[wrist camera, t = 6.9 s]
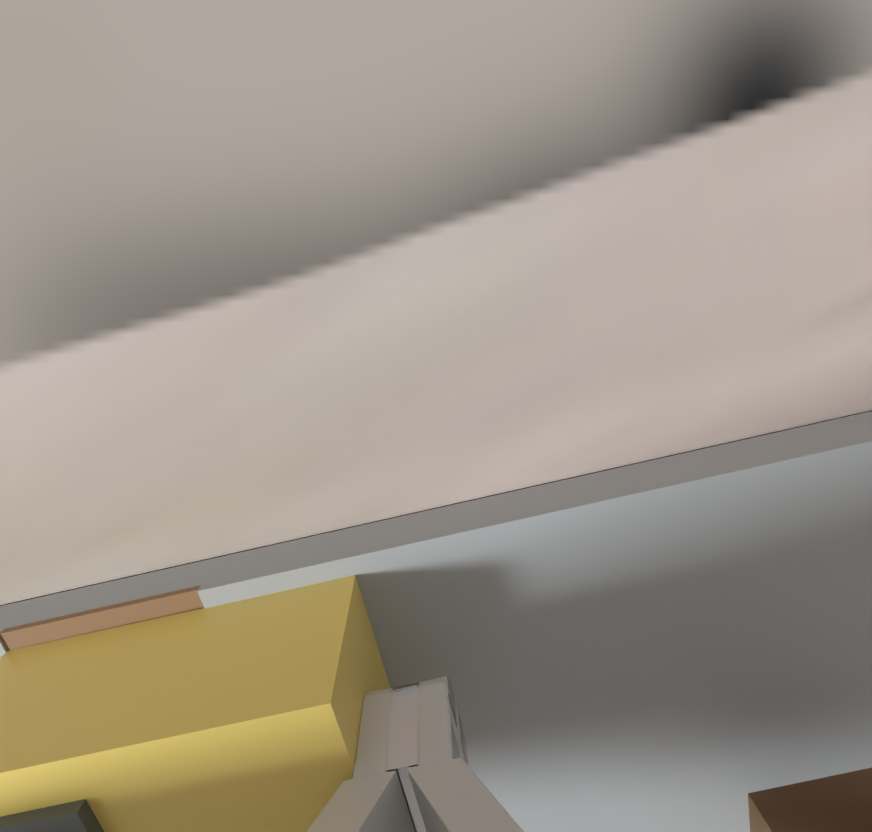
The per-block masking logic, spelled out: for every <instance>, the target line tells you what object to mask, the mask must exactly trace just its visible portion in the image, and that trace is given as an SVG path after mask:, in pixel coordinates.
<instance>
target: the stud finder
mask: <svg viewBox="0 0 872 832" xmlns="http://www.w3.org/2000/svg"><path fill="white" fill-rule="evenodd" d="M388 688H390V685H389V682H388V678H387V675H386V672H385V669H384V666H383V662H382V659H381V656H380V653H379V649H378V646H377V643H376V640H375V637H374V633H373V630H372V627H371V624H370V621H369V617H368V614H367V611H366V608H365V605H364V601H363V598H362V595H361V592H360V589H359V585H358V582H357V579H356V576H355V575H353V576H349V577H344V578H340V579H335V580H330V581H326V582H321V583H317V584H312V585H308V586H303V587H299V588H294V589H290V590H285V591H281V592H276V593H272V594H267V595H263V596H258V597H254V598H249V599H245V600H240V601H235V602H231V603H226V604H222V605H217V606H213V607H208V608H202V609H197V610H193V611H188V612H184V613H179V614H174V615H170V616H165V617H161V618H156V619H152V620H147V621H142V622H138V623H133V624H129V625H124V626H119V627H115V628H110V629H106V630H101V631H96V632H92V633H87V634H83V635H78V636H74V637H69V638H64V639H60V640H55V641H51V642H46V643H41V644H37V645H32V646H28V647H23V648H18V649H14V650H9V651H7V652H6V653H5V654H4V655H2V656H1V657H0V832H307V831H308V829H309V828H310V827H311V825H312V824H313V822H314V821H315V820H316V818H317V817H318V815H319V814H320V813H321V811H322V810H323V809H324V807H325V806H326V804H327V803H328V802H329V800H330V799H331V798H332V796H333V795H334V793H335V792H336V791H337V789H338V788H339V786H340V785H341V784H342V782H343V781H346V780H350V779H352V774H353V769H354V765H355V757H356V749H357V742H358V734H359V726H360V719H361V710H362V703H363V697H364V696H365V694H366V692H370V691H376V690H382V689H388Z"/></svg>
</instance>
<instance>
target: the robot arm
mask: <svg viewBox="0 0 872 832" xmlns="http://www.w3.org/2000/svg"><path fill="white" fill-rule="evenodd" d="M307 832H524V831H523V830H522V829H521V828H520V827H519V825H518V824H517V823H516V822H515V821H514V819H513V818H512V817H511V816H510V815H509V814H508V812H507V811H506V810H505V809H504V808H503V806H502V805H501V804H500V803H499V802H498V801H497V799H496V798H495V797H494V796H493V795H492V793H491V792H490V791H489V790H488V789H487V787H486V786H485V785H484V784H483V783H482V782H481V780H480V779H479V778H478V777H477V776H476V774H475V773H474V772H473V771H472V770H471V769H470V767H469V762H468V755H467V748H466V742H465V736H464V732H463V727H462V723H461V719H460V714H458V711H457V707H456V703H455V696H454V692H453V688H452V684H451V681H450V679H449V677H446V676H444V677H439V678H435V679H430V680H426V681H421V682H418V683H412V684H406V685H401V686H395V687H394V688H388V689H382V690H376V691H370V692H366V694H365V696H364V697H363V703H362V710H361V719H360V726H359V734H358V742H357V749H356V757H355V765H354V769H353V774H352V779H350V780H346V781H343V782H342V784H341V785H340V786H339V788H338V789H337V791H336V792H335V793H334V795H333V796H332V798H331V799H330V800H329V802H328V803H327V804H326V806H325V807H324V809H323V810H322V811H321V813H320V814H319V815H318V817H317V818H316V820H315V821H314V822H313V824H312V825H311V827H310V828H309V829H308V831H307Z"/></svg>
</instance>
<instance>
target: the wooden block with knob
mask: <svg viewBox="0 0 872 832" xmlns="http://www.w3.org/2000/svg"><path fill="white" fill-rule="evenodd" d="M748 805H749V821H750V832H872V768H867V769H862V770H857V771H852V772H848V773H843V774H838V775H833V776H829V777H824V778H819V779H814V780H809V781H805V782H800V783H795V784H790V785H786V786H781V787H776V788H771V789H766V790H762V791H757V792H752V793H748Z"/></svg>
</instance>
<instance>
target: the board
mask: <svg viewBox="0 0 872 832" xmlns="http://www.w3.org/2000/svg"><path fill="white" fill-rule="evenodd" d="M353 575H355V576H356V579H357V582H358V585H359V589H360V592H361V595H362V598H363V601H364V605H365V608H366V611H367V614H368V617H369V621H370V624H371V627H372V630H373V633H374V637H375V640H376V643H377V646H378V649H379V653H380V656H381V659H382V662H383V666H384V669H385V672H386V675H387V678H388V682H389V685H390V688H394V687H395V686H401V685H406V684H412V683H418V682H421V681H426V680H430V679H435V678H439V677H444V676H446V677H449V679H450V681H451V684H452V688H453V692H454V696H455V703H456V707H457V711H458V714H460V719H461V723H462V727H463V732H464V736H465V742H466V748H467V755H468V762H469V767H470V769H471V770H472V771H473V772H474V773H475V774H476V776H477V777H478V778H479V779H480V780H481V782H482V783H483V784H484V785H485V786H486V787H487V789H488V790H489V791H490V792H491V793H492V795H493V796H494V797H495V798H496V799H497V801H498V802H499V803H500V804H501V805H502V806H503V808H504V809H505V810H506V811H507V812H508V814H509V815H510V816H511V817H512V818H513V819H514V821H515V822H516V823H517V824H518V825H519V827H520V828H521V829H522V830H523V831H524V832H750V821H749V805H748V793H752V792H757V791H762V790H766V789H771V788H776V787H781V786H786V785H790V784H795V783H800V782H805V781H809V780H814V779H819V778H824V777H829V776H833V775H838V774H843V773H848V772H852V771H857V770H862V769H867V768H872V411H870V412H865V413H861V414H856V415H852V416H847V417H843V418H838V419H834V420H829V421H825V422H821V423H816V424H812V425H807V426H803V427H798V428H794V429H789V430H785V431H780V432H776V433H771V434H767V435H762V436H758V437H754V438H749V439H745V440H740V441H736V442H731V443H727V444H722V445H718V446H713V447H709V448H704V449H700V450H695V451H691V452H686V453H682V454H678V455H673V456H669V457H664V458H660V459H655V460H651V461H646V462H642V463H637V464H633V465H628V466H624V467H619V468H615V469H611V470H606V471H602V472H597V473H593V474H588V475H584V476H579V477H575V478H570V479H566V480H561V481H557V482H552V483H548V484H543V485H539V486H535V487H530V488H526V489H521V490H517V491H512V492H508V493H503V494H499V495H494V496H490V497H485V498H481V499H476V500H472V501H467V502H463V503H459V504H454V505H450V506H445V507H441V508H436V509H432V510H427V511H423V512H418V513H414V514H409V515H405V516H400V517H396V518H392V519H387V520H383V521H378V522H374V523H369V524H365V525H360V526H356V527H351V528H347V529H342V530H338V531H333V532H329V533H324V534H320V535H316V536H311V537H307V538H302V539H298V540H293V541H289V542H284V543H280V544H275V545H271V546H266V547H262V548H257V549H253V550H249V551H244V552H240V553H235V554H231V555H226V556H222V557H217V558H213V559H208V560H204V561H199V562H195V563H190V564H186V565H181V566H177V567H173V568H168V569H164V570H159V571H155V572H150V573H146V574H141V575H137V576H132V577H128V578H123V579H119V580H114V581H110V582H106V583H101V584H97V585H92V586H88V587H83V588H79V589H74V590H70V591H65V592H61V593H56V594H52V595H47V596H43V597H38V598H34V599H30V600H25V601H21V602H16V603H12V604H7V605H3V606H0V657H1V656H2V655H4V654H5V653H6V652H7V651H9V650H14V649H18V648H23V647H28V646H32V645H37V644H41V643H46V642H51V641H55V640H60V639H64V638H69V637H74V636H78V635H83V634H87V633H92V632H96V631H101V630H106V629H110V628H115V627H119V626H124V625H129V624H133V623H138V622H142V621H147V620H152V619H156V618H161V617H165V616H170V615H174V614H179V613H184V612H188V611H193V610H197V609H202V608H208V607H213V606H217V605H222V604H226V603H231V602H235V601H240V600H245V599H249V598H254V597H258V596H263V595H267V594H272V593H276V592H281V591H285V590H290V589H294V588H299V587H303V586H308V585H312V584H317V583H321V582H326V581H330V580H335V579H340V578H344V577H349V576H353Z"/></svg>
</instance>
